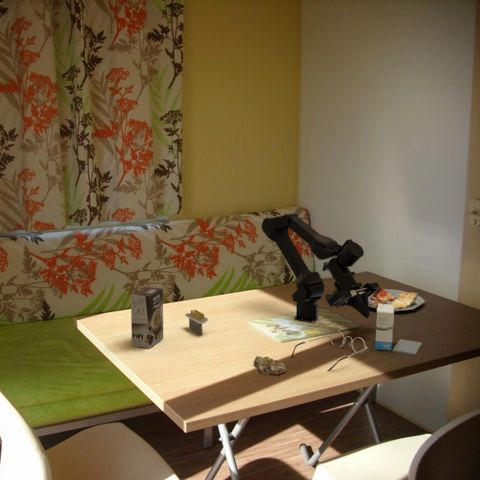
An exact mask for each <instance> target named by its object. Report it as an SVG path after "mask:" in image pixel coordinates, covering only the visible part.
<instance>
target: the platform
mask: <svg viewBox="0 0 480 480" xmlns="http://www.w3.org/2000/svg"><path fill="white" fill-rule="evenodd" d="M185 317H186V318H188V328H189V330H192V332H195V333H197V334H198V335H200V336H203V324H206V323H207V322H208V321H209V318H207V317H205V314H204V313H203V312H201V311H199V310H197V309H191V310H190V312H189V313H185Z"/></svg>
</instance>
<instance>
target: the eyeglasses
mask: <svg viewBox="0 0 480 480" xmlns="http://www.w3.org/2000/svg"><path fill="white" fill-rule="evenodd" d="M335 332H336V330H334V331H332V332H331V334H330V335H329V334H328V335H323V336H320V337H317V338H314V339H311V340H308V341H302V342H299V343H297V344H295V346H294V348H293V351H292V353H291V357H290V359H293V357H294V354H295V351H296V349H297V347H298V346H300V345H304V344H306V343H309V342H313V341H317V340H320V339H324V338H330V342H331V344H332V345H333V346H335V344H334V343H333V340H332V335H333V333H335ZM337 332H338V333H340V334H341V335H342V336H343V340H342V342H341V345H339V346H338V347H340V348H341V347H344V346H345V344H346V341H347V339H346V338H350V340H351V341H350V342H349V347H350V348H351V350H352V351H353V352H354V353H351V354H350V355H348V356H347V355H346V356H344V357H343V358H340V359H338V360H337V361H336V362H335V363H334V364H333V365H332V366H331V367H329V369H328V370H327V372H330V371H332V369H333V368H335V366H336V365H337V364H338V363H339V362H340V361H343V360H345V359H348V358H349V357H352V356H354V355H357V354H359V355H362V354H363V353H364V352H365V351H366V350H368V349H369V347H367V346H366V342H365V341H364V339H363V338H361V337H359V336H358V337H355V338H354V339H353V338H352V337H351V336H345V335H344V334H343V332H341V331H340V330H337ZM356 339H361V341H362V342H363V344H364V348H363V349H361V350H359V351H357V350H355V347H354V341H355V340H356Z"/></svg>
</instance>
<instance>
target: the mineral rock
mask: <svg viewBox="0 0 480 480" xmlns="http://www.w3.org/2000/svg"><path fill="white" fill-rule="evenodd" d="M253 366H254V367H255V368H257V369H258V370H257V371H258V372H259V373H261V374H265V375H269V376H270V375H279V374H282V373H285V372H286V370H287V367H286V364H285V363H283V362H280V360H277V359H276V360H275V359H274V358H270V357H269V356H264V357H262V356H259V355H258V356H255V358H254V360H253Z"/></svg>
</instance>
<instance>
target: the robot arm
mask: <svg viewBox="0 0 480 480" xmlns="http://www.w3.org/2000/svg"><path fill="white" fill-rule="evenodd" d="M261 231H262V232H263V233H264V234H265V236H266V237H267V238H268V239H269V240H271V241H272V242H274V243H275V244H276V246H277V247H278V249H279V251H280V252H281V254H282V256H283V258H284V259H285V261H286V263H287V264H288V266H289V268H290V269H291V271H292V273H293V275H294V276H295V282H296V283H295V286H296V290H295V292H293V293H292V294H291V296H292V301H293V302H295V303H296V306H295V307H296V309H295V310H296V313H295V314H296V315H295V316H294V318H293V319H294V320H298V321H305V322H310V321H311V323H312V321H313V322H314V321H316V320H317V318H319V311H320V310H319V306H320V305H319V304H318V301H319V300H320V301H321V300H322V297H323V295H324V292H325V287H326V286H325V284H324V279H322V276H321V275H320V273H319V272H318V271H311V270H310V269H309V268H308V265H307V264H306V262H305V261H304V259H303V257H302V255H301V254H300V253H299V250H298V248H297V247H296V246H295V244H294V242H293V240H292V239H291V237H290V235H289V233H290V231H292V232H293V233H295V235H297V236H298V237H299V238H301V240H303V241H304V242H305V243H306V244H307V245H308V246H309V247H310V251H311V252H312V254H313V255H314V256H315V257H316V259H318V260H322V261H324V260H329V261H325V262H323V266H322V269H321V270H322V272H326V271H328V272H329V273H330V274H331V277H332V278H333V280H334V283H333V286H334V288H335V290H334V291H332V292H328V293H326V295H325V296H324V298H325V301H326V302H327V304H328V305H329V307H330V308H334V307H335V308H336V309H337V308H338V309H339V308H340V307H345V306H346V307H347V306H348V307H352V308H353V309H354V310H355V311H356V312H358V313H359V314H361V315H362V317H364V318H365V319H368V318H369V317H371V316H370V307H369V306H370V303H369V301H368V297H370V296H371V295H372V294H373V293H374V292H376V291H377V290H378V289H379V288H381V286H380V285H379V283H378V282H377V281H374V280H373V281H369V282H366V283H365V284H364V285H363V283H362V282H358V280H357V279H356V278H355V276H356V272H355V271H351V270H350V268H351V267H353V266H355V264H356V263H357V262H358V261H359V260H360V259H361V258H363V256H364V254H365V252H364V249H363V247H362V246H361V245H360V244H358V243H357V242H355V241H353V239H346V241H344V242H343V244H339V243H338V242H337V241H336V239H333V238H331V237H329V236H326V235H323V234H321V233H319V232H318V231H316V229H314V228H313V227H312V226H311V225H309V224H308V223H307V222H306V221H304V220H303V219H302V218H301V217H300V216H299V215H298V214H297V213H295V212H292V213H290V212H289V213H285V214H283V215H279V216H271V217H265V218H264V219H263V221H262V223H261Z"/></svg>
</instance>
